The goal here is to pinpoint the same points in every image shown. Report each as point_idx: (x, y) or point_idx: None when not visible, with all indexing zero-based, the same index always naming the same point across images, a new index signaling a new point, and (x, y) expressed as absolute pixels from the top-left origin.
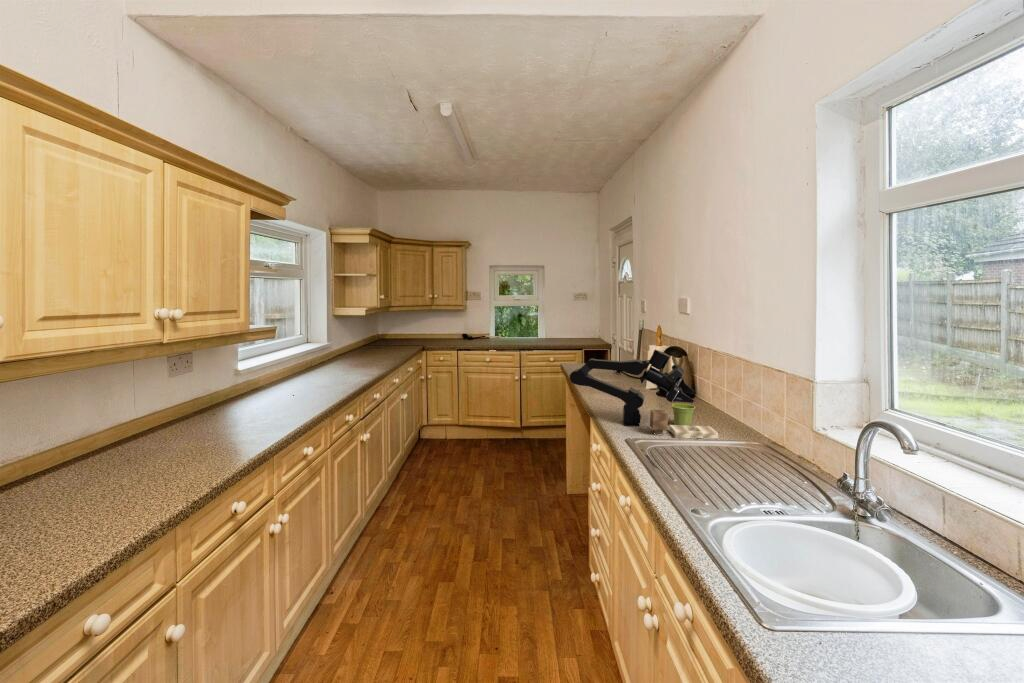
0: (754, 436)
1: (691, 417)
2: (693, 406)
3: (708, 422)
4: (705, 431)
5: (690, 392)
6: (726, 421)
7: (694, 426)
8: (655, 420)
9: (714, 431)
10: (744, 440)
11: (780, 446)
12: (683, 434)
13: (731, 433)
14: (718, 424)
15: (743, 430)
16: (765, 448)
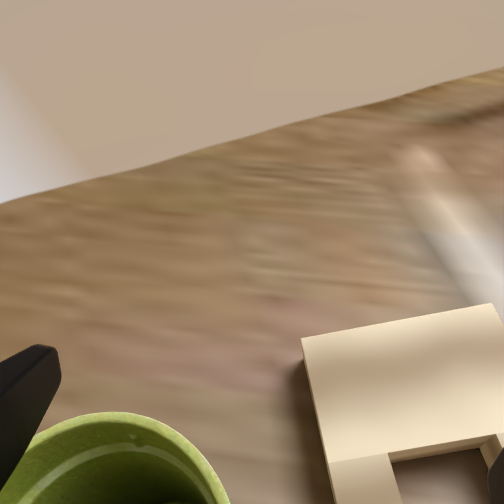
0: (297, 154)
1: (184, 480)
2: (75, 430)
3: (48, 336)
4: (488, 394)
5: (12, 447)
6: (30, 239)
7: (355, 477)
8: None
9: (443, 323)
10: (398, 195)
11: (422, 89)
12: None
13: (277, 238)
14: (93, 284)
15: (199, 184)
16: (498, 132)
